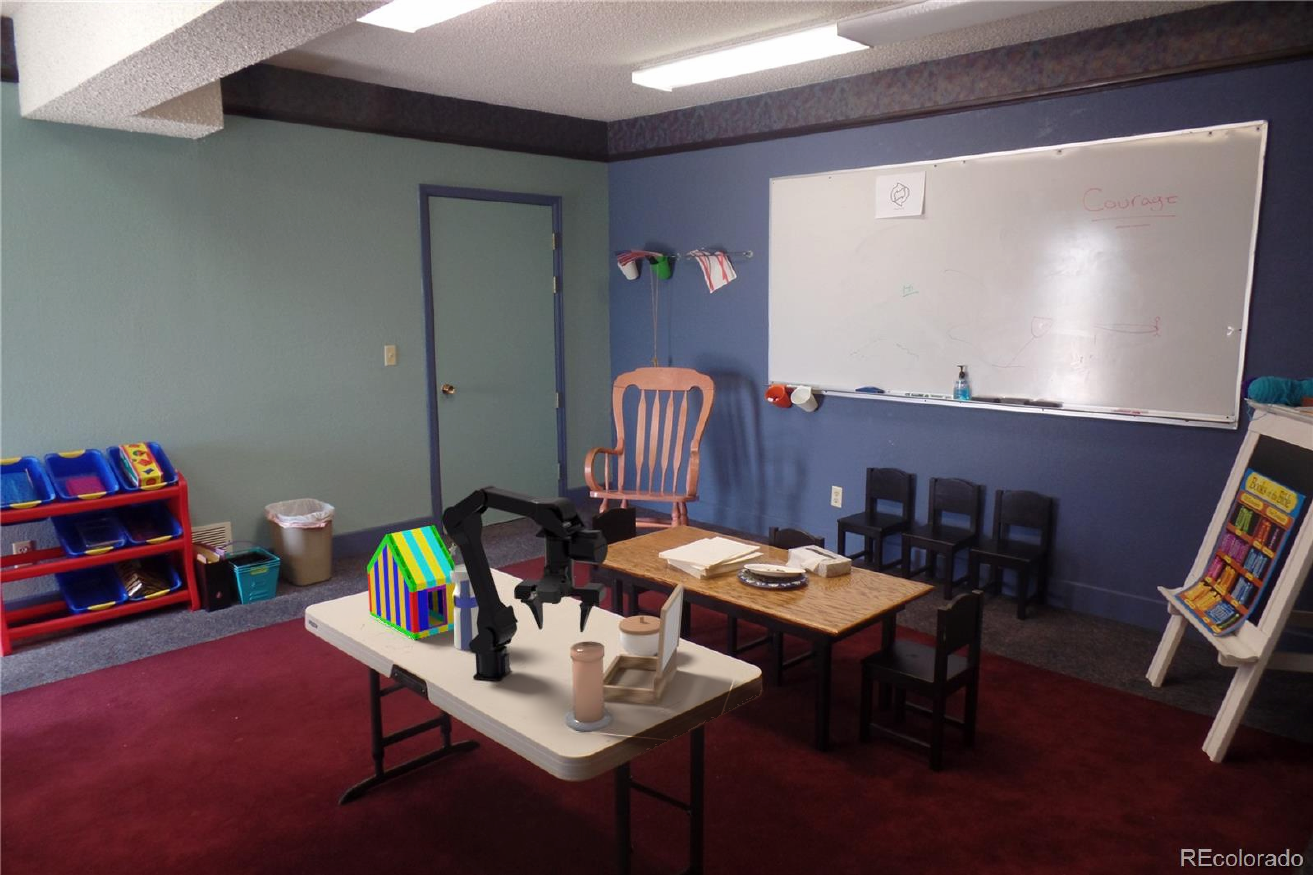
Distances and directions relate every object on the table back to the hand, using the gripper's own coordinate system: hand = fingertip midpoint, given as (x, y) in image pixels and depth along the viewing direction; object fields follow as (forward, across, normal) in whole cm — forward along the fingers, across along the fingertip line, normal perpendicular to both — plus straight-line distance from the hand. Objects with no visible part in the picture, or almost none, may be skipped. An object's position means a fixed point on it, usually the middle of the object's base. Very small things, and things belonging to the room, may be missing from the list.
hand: (561, 630), depth 184 cm
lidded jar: (+13, +12, +22) cm, 28 cm away
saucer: (+13, +10, -14) cm, 21 cm away
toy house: (+13, -52, +32) cm, 63 cm away
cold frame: (+13, +15, +5) cm, 20 cm away
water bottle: (+13, -31, +20) cm, 39 cm away
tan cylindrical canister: (+12, +10, -13) cm, 21 cm away
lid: (+7, +22, +5) cm, 24 cm away
